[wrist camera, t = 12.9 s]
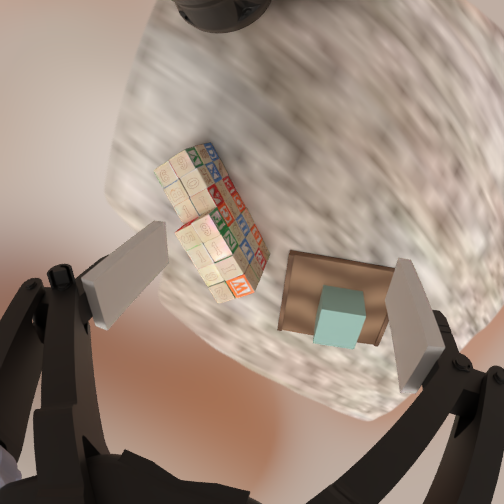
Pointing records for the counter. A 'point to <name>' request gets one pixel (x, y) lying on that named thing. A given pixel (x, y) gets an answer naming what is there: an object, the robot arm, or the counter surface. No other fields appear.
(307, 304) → the board
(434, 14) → the counter surface
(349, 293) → the cube
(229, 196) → the stack of blocks
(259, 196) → the counter surface
